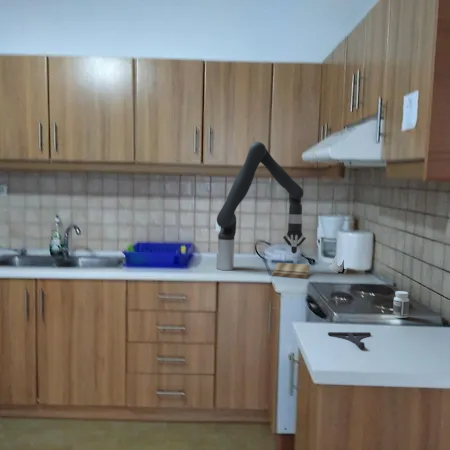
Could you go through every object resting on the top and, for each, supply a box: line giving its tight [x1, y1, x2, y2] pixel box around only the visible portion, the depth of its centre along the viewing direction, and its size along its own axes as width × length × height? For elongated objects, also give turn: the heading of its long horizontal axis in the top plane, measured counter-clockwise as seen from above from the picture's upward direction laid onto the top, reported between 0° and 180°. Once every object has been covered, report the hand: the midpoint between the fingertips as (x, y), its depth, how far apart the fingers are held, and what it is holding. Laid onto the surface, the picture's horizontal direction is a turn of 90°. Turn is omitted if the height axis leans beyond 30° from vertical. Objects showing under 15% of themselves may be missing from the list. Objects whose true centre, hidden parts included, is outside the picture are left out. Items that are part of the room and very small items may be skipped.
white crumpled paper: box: [328, 254, 348, 274], centre depth 281 cm, size 17×5×10 cm, turn 5°
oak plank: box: [274, 262, 311, 274], centre depth 269 cm, size 18×7×2 cm, turn 73°
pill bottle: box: [392, 290, 410, 316], centre depth 189 cm, size 6×6×10 cm
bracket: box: [327, 331, 372, 351], centre depth 160 cm, size 14×15×3 cm
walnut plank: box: [271, 269, 309, 280], centre depth 262 cm, size 18×7×2 cm, turn 73°
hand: (294, 253), depth 272 cm, fingers closed
